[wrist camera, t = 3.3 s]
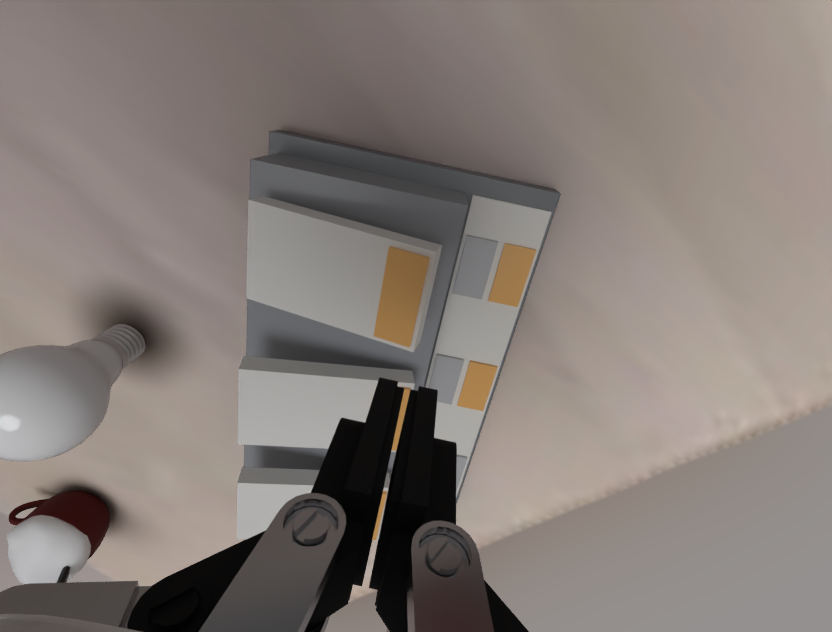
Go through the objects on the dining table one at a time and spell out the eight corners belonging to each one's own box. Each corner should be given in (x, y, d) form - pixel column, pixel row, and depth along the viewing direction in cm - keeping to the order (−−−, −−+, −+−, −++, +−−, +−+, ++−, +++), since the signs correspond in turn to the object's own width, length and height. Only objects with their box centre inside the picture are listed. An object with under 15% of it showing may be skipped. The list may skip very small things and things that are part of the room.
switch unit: (279, 130, 24) (240, 134, 20) (554, 189, 24) (577, 206, 20) (263, 464, 36) (236, 515, 31) (451, 502, 36) (451, 558, 31)
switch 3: (242, 466, 26) (236, 485, 25) (389, 472, 28) (390, 490, 26) (241, 522, 28) (236, 542, 27) (377, 524, 30) (378, 542, 29)
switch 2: (244, 356, 22) (237, 371, 21) (412, 370, 24) (415, 385, 23) (242, 429, 25) (237, 446, 23) (397, 437, 26) (399, 454, 25)
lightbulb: (97, 280, 29) (-84, 366, 20) (185, 321, 30) (55, 424, 20) (83, 349, 32) (-82, 456, 22) (165, 386, 33) (41, 504, 23)
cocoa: (37, 491, 40) (-126, 629, 29) (65, 461, 38) (-101, 599, 27) (122, 549, 42) (-1, 698, 31) (153, 524, 40) (32, 676, 29)
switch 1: (264, 196, 21) (245, 200, 19) (442, 245, 19) (434, 253, 18) (260, 290, 23) (243, 299, 22) (420, 341, 21) (412, 354, 20)
